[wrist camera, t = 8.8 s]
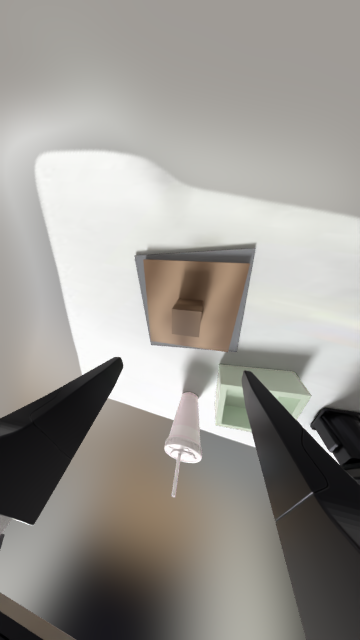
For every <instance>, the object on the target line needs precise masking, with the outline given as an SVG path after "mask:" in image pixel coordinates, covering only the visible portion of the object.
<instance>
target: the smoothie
mask: <svg viewBox="0 0 360 640" xmlns="http://www.w3.org/2000/svg"><path fill="white" fill-rule="evenodd" d="M164 449H165V451H166V453H167V454H168V455H170V456H171V457H173V458H175V459H177V463H176V469H175V476H174V482H173V489H172V495H171V496H172V497H175V495H176V488H177V481H178V474H179V466H180V461H183V462H189V463H196V462H199V461H200V460H201V459H202V448H201V447H200V430H199V410H198V397H197V395H195V394H194V393H191V392H185V393H183V394H182V397H181V400H180V403H179V406H178V409H177V412H176V415H175V419H174V422H173V425H172V428H171V431H170V435H169V437H168V438H167V439H166V441H165V447H164Z"/></svg>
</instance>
